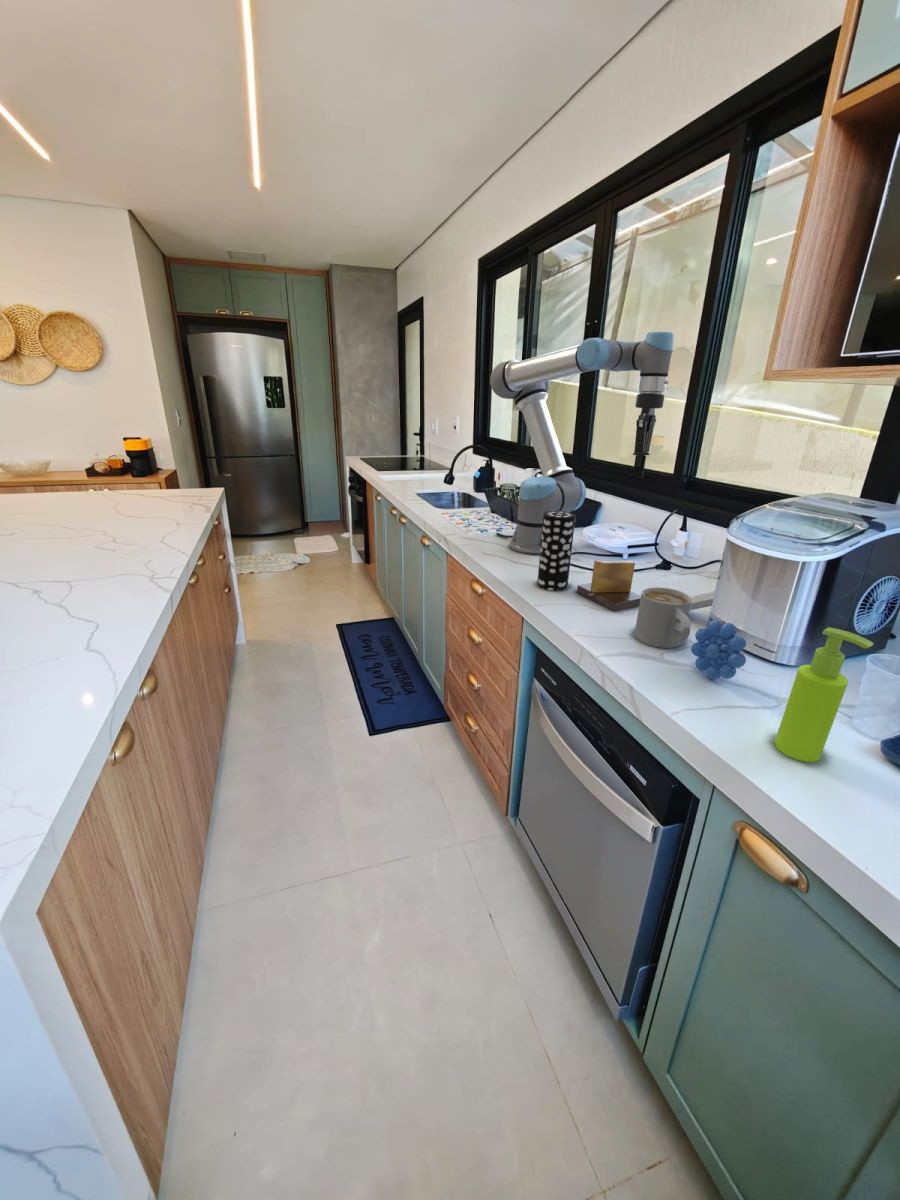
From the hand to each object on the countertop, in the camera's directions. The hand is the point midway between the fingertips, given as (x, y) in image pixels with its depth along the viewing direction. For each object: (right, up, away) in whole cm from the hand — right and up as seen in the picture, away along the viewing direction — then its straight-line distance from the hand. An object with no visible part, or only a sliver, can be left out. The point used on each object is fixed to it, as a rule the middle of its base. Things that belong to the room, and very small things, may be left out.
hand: (637, 477), depth 152 cm
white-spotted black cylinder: (-28, -33, -12) cm, 45 cm away
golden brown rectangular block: (-15, -35, -21) cm, 43 cm away
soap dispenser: (-3, -60, -76) cm, 97 cm away
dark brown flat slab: (-15, -37, -20) cm, 44 cm away
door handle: (+8, -41, -28) cm, 50 cm away
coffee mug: (-11, -46, -42) cm, 64 cm away
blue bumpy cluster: (-6, -52, -56) cm, 77 cm away
